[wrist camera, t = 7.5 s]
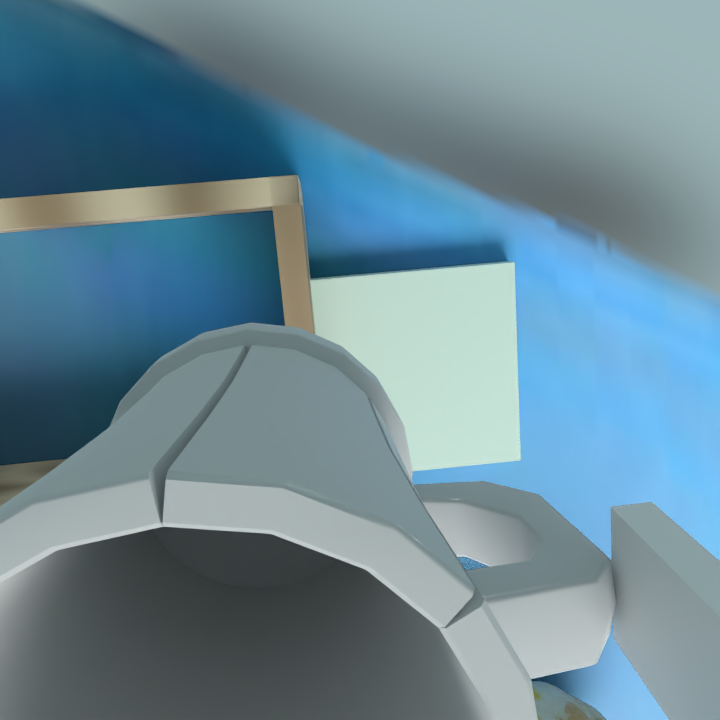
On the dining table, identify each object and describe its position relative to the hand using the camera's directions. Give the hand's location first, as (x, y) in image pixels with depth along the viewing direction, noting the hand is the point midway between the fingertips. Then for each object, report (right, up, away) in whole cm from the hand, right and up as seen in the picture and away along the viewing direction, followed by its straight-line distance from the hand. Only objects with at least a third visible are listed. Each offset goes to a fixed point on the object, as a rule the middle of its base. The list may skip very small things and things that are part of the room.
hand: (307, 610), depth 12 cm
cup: (-1, +2, +8) cm, 8 cm away
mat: (+4, +4, +24) cm, 24 cm away
